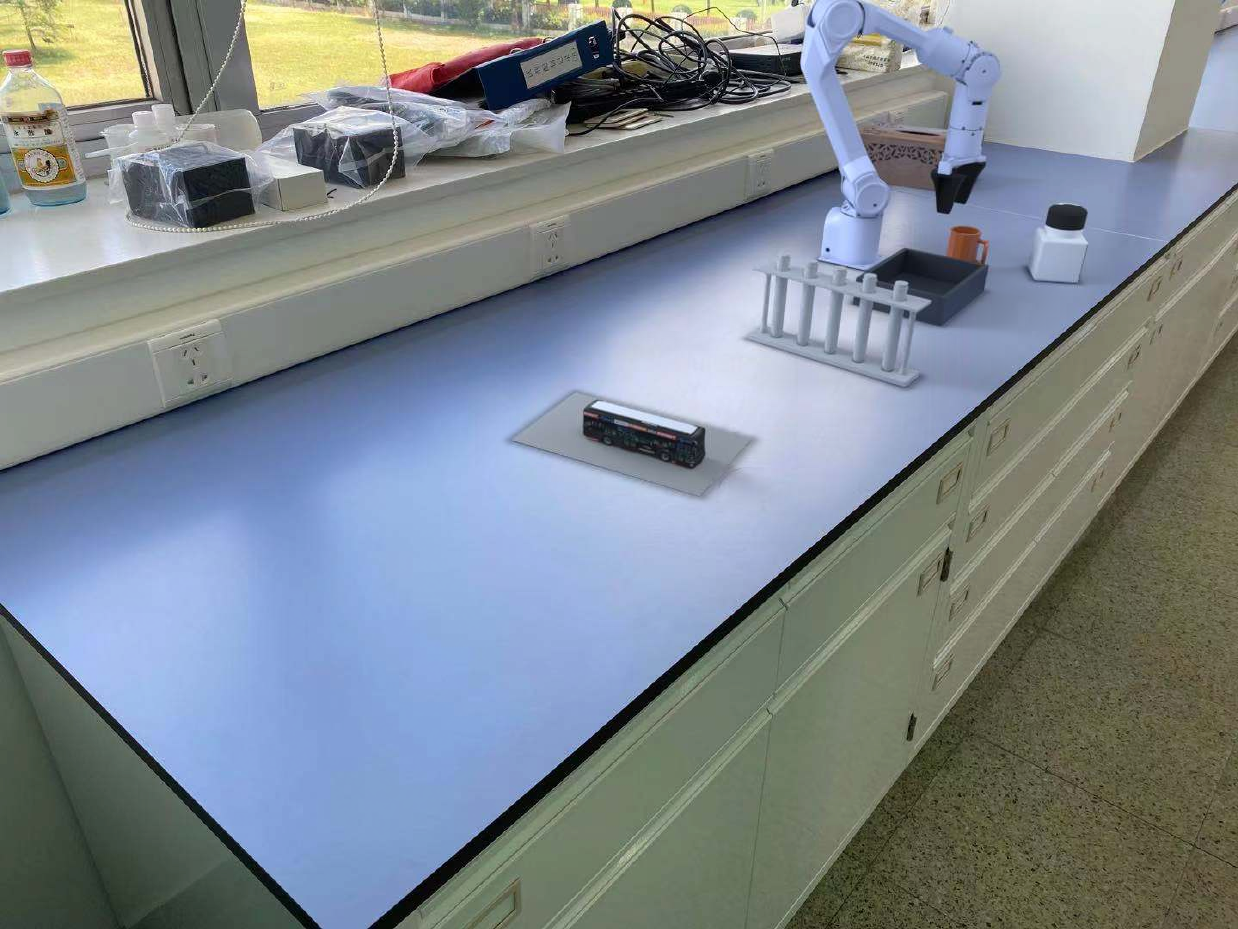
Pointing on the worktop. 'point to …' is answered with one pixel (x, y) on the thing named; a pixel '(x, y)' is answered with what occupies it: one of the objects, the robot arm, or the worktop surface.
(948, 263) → the bin
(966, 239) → the cup
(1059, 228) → the medicine bottle
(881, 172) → the tissue box cover
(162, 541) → the worktop surface
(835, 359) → the test tube rack
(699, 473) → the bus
